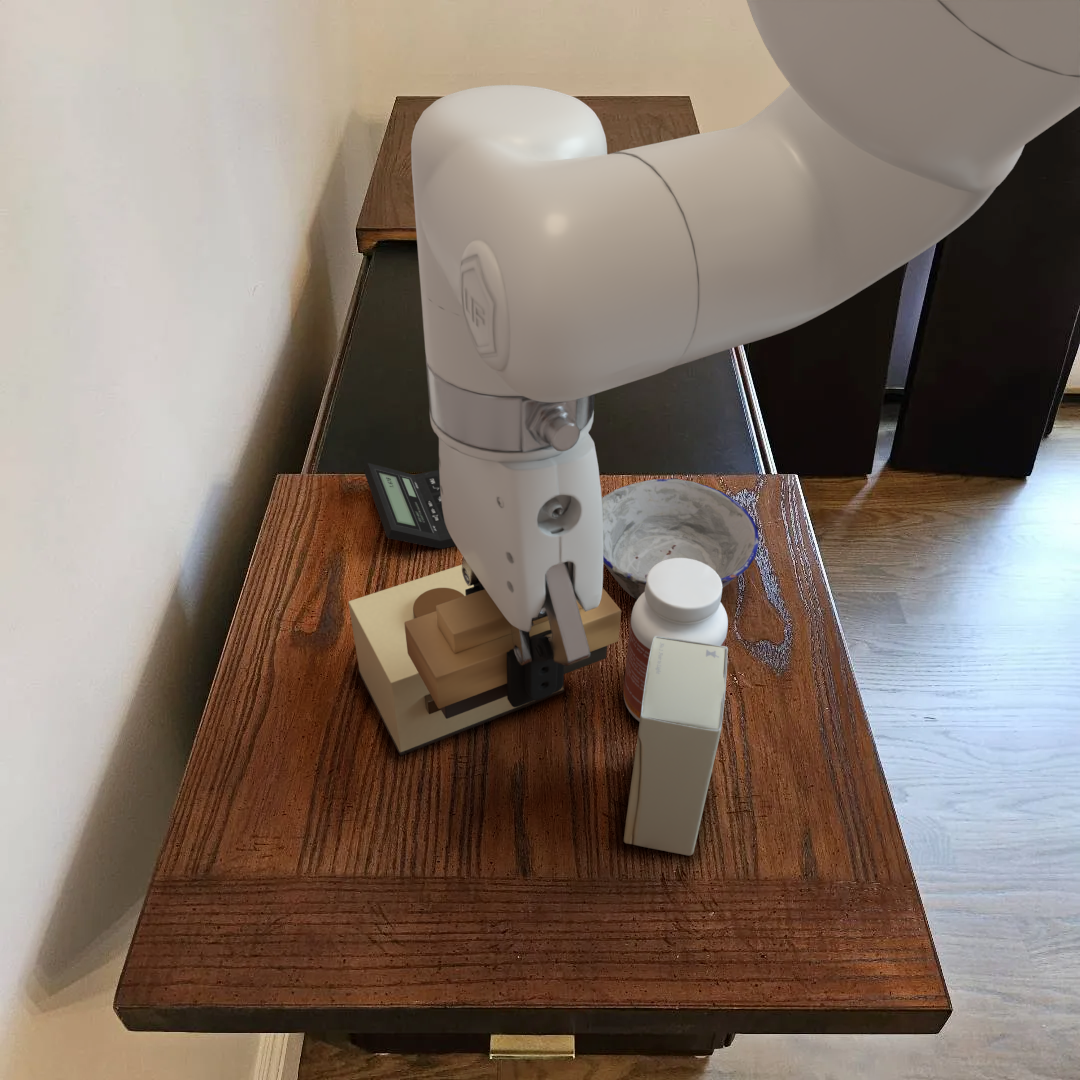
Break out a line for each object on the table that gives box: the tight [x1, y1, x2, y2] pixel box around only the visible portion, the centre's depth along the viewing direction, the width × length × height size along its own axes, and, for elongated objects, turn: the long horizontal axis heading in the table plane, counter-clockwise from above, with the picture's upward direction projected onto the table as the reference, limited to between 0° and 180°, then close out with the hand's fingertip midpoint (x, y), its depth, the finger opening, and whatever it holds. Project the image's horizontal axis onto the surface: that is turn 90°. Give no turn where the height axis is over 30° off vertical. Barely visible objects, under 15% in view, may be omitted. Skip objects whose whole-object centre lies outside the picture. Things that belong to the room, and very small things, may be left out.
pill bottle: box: [623, 558, 729, 723], centre depth 65 cm, size 6×6×11 cm
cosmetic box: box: [623, 636, 729, 856], centre depth 58 cm, size 6×4×12 cm
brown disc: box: [413, 588, 464, 619], centre depth 64 cm, size 4×4×1 cm
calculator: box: [363, 462, 457, 550], centre depth 83 cm, size 9×12×3 cm
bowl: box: [602, 477, 760, 601], centre depth 77 cm, size 13×13×5 cm
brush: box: [404, 586, 622, 719], centre depth 55 cm, size 11×4×6 cm, turn 117°
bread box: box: [348, 564, 565, 757], centre depth 67 cm, size 9×12×7 cm
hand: (514, 661), depth 57 cm, fingers closed on brush, 4 cm apart
